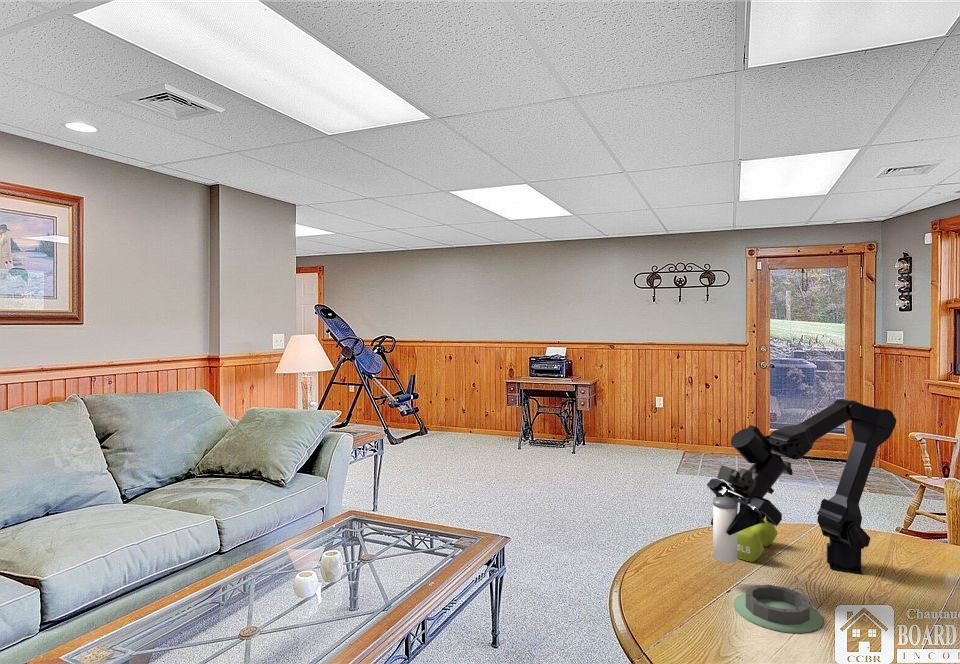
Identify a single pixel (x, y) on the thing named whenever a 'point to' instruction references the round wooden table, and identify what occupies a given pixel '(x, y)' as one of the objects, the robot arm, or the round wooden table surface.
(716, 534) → the white gray-capped cylinder
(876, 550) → the round wooden table surface
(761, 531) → the dumbbell
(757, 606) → the green round disc
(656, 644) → the round wooden table surface
